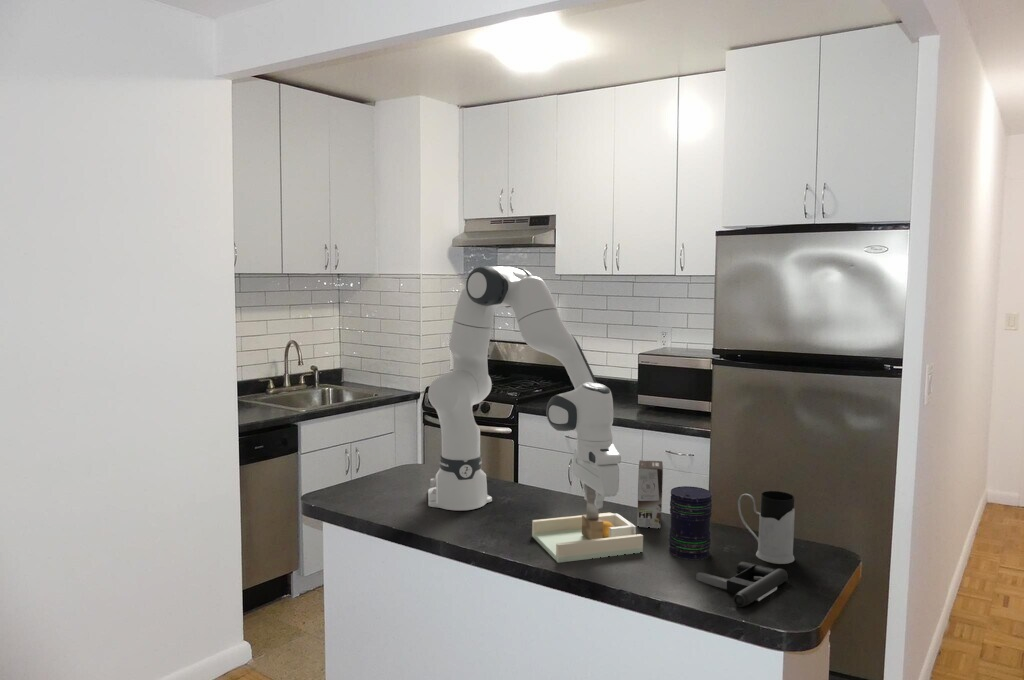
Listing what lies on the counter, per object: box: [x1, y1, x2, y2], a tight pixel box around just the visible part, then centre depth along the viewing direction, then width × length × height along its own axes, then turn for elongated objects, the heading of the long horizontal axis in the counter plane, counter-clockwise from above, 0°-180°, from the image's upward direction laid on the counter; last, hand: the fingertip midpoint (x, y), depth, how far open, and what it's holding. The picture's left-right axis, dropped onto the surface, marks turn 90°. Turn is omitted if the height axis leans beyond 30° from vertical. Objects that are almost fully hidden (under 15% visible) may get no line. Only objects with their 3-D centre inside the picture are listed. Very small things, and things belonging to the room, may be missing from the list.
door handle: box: [695, 561, 789, 608], centre depth 163 cm, size 3×20×16 cm
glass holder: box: [737, 490, 796, 565], centre depth 181 cm, size 9×14×15 cm, turn 48°
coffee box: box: [636, 459, 664, 529], centre depth 202 cm, size 9×6×16 cm
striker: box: [581, 486, 603, 540], centre depth 186 cm, size 6×3×13 cm, turn 18°
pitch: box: [531, 512, 644, 564], centre depth 186 cm, size 18×22×5 cm
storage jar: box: [668, 485, 713, 561], centre depth 181 cm, size 10×10×15 cm
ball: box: [603, 521, 614, 538], centre depth 188 cm, size 4×4×4 cm
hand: (593, 503), depth 186 cm, fingers open, 4 cm apart
